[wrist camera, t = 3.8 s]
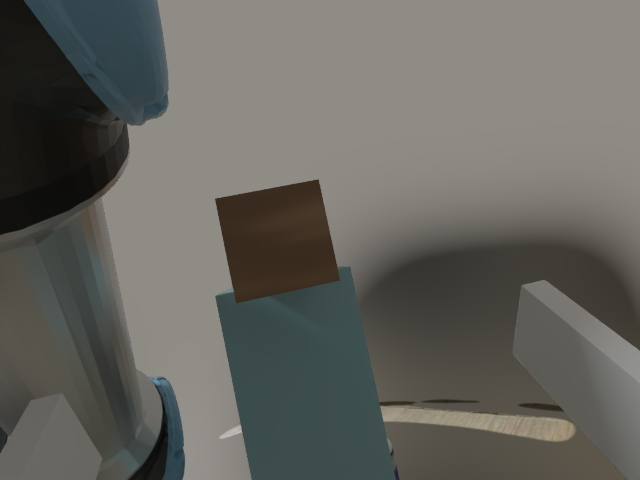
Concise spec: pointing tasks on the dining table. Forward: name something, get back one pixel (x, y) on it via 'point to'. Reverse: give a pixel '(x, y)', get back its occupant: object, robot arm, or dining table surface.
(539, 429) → the dining table surface
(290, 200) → the brown wooden block
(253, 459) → the stand
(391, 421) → the dining table surface
